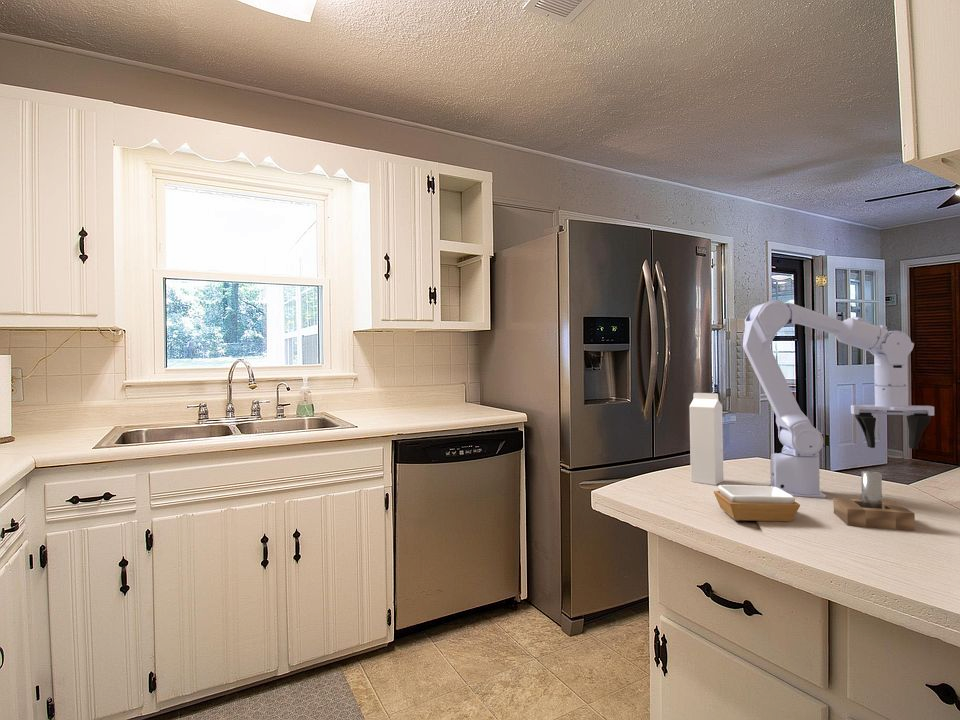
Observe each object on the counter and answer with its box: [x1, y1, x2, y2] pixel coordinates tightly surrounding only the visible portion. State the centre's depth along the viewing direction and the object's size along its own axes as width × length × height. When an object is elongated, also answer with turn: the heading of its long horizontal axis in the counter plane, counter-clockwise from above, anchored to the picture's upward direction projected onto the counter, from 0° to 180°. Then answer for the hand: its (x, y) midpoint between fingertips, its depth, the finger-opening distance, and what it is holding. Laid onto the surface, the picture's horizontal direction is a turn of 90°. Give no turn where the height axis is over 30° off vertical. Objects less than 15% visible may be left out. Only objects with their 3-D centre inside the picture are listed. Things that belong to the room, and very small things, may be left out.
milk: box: [689, 392, 724, 486], centre depth 129 cm, size 6×6×22 cm
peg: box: [860, 470, 883, 509], centre depth 96 cm, size 3×3×9 cm
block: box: [833, 497, 916, 531], centre depth 96 cm, size 10×8×3 cm
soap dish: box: [713, 484, 801, 523], centre depth 101 cm, size 12×10×5 cm
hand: (892, 447), depth 113 cm, fingers open, 7 cm apart
